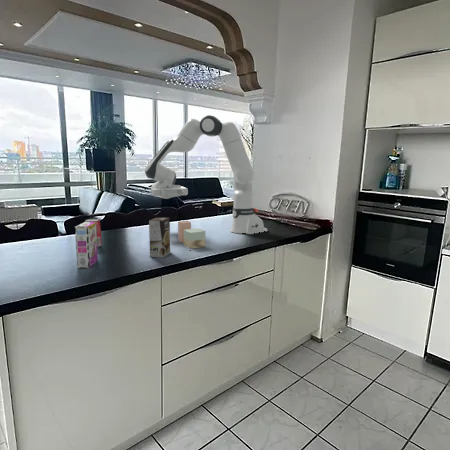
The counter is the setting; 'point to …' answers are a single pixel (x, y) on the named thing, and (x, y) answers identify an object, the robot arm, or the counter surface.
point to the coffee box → (159, 237)
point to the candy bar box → (86, 244)
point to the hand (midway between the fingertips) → (174, 193)
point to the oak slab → (195, 243)
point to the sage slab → (194, 234)
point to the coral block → (181, 227)
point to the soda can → (97, 230)
